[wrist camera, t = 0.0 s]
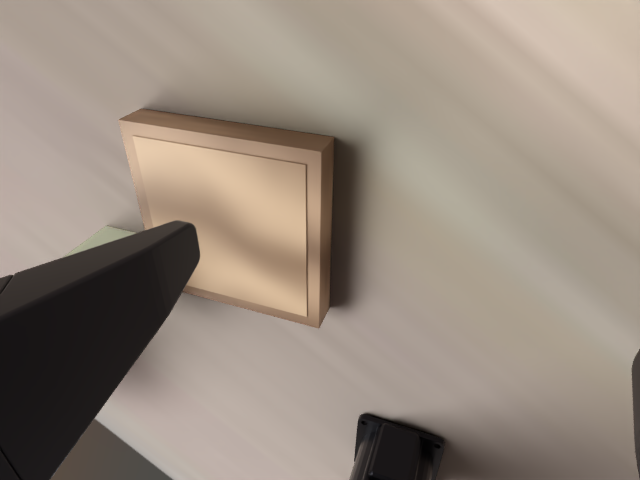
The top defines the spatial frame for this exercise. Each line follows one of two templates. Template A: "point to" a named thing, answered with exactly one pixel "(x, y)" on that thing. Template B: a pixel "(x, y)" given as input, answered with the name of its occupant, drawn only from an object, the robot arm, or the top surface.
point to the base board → (241, 207)
